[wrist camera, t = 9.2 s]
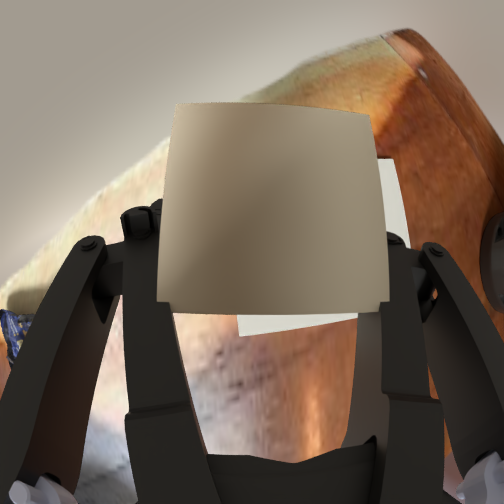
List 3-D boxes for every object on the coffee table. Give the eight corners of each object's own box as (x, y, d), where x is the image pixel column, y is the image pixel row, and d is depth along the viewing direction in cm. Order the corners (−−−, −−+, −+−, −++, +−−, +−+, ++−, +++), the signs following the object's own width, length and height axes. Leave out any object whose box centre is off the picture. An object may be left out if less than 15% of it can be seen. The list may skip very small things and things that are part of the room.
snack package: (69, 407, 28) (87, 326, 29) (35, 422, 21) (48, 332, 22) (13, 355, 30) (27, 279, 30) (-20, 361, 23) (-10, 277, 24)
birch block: (299, 211, 20) (366, 105, 8) (300, 306, 19) (389, 311, 7) (210, 209, 20) (177, 94, 8) (207, 305, 19) (156, 311, 7)
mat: (390, 160, 32) (392, 159, 31) (413, 303, 30) (416, 304, 30) (220, 170, 30) (219, 168, 30) (239, 335, 29) (239, 336, 29)
